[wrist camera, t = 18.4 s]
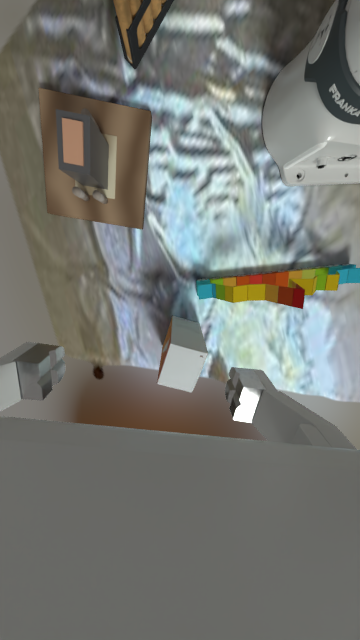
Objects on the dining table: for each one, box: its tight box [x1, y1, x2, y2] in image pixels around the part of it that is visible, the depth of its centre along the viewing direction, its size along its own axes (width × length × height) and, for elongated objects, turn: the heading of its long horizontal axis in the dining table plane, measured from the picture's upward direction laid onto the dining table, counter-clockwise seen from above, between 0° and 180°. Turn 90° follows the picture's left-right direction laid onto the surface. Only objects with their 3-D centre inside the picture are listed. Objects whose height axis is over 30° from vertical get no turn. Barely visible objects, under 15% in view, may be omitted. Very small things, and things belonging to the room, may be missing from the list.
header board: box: [39, 88, 152, 229], centre depth 30 cm, size 16×16×5 cm
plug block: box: [56, 109, 109, 190], centre depth 28 cm, size 4×6×7 cm, turn 171°
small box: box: [157, 316, 208, 392], centre depth 37 cm, size 8×6×13 cm
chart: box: [196, 264, 360, 309], centre depth 32 cm, size 30×3×15 cm, turn 96°
